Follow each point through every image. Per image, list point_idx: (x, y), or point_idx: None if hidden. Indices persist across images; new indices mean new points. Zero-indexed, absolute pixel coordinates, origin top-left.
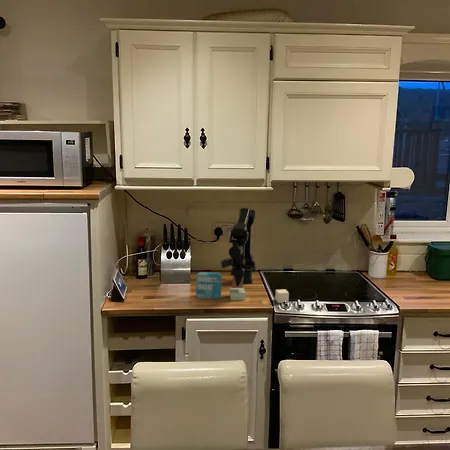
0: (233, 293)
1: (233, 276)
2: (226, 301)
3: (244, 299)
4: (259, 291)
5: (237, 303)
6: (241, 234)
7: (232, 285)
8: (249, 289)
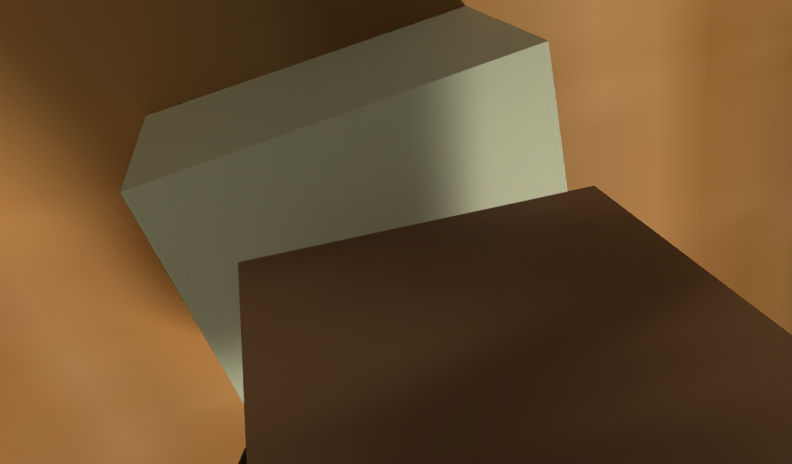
0: (153, 240)
1: None
2: (6, 20)
3: None
4: None
5: (9, 288)
6: None
7: (243, 312)
8: (775, 279)
